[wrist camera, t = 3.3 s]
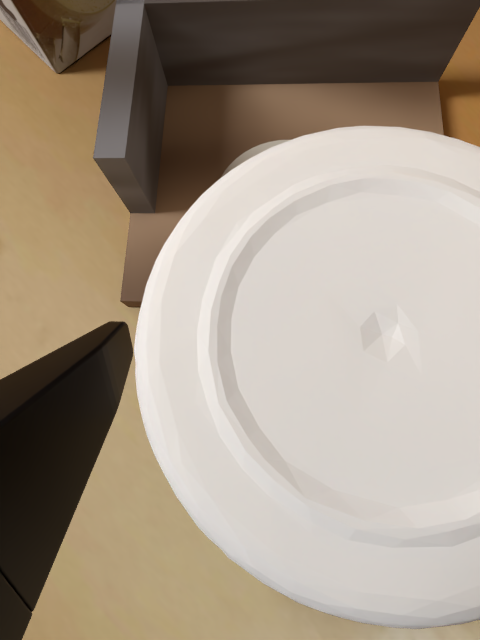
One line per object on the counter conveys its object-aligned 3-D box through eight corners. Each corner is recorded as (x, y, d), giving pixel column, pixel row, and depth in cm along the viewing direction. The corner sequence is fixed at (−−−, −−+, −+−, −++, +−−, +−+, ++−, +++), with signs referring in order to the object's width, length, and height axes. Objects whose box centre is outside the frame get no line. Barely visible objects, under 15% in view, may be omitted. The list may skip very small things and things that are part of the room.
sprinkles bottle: (318, 329, 17) (540, 53, 4) (349, 430, 16) (827, 569, 2) (222, 353, 17) (84, 167, 3) (246, 455, 16) (174, 739, 2)
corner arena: (449, 314, 16) (530, 276, 12) (128, 306, 17) (77, 268, 12) (427, 79, 19) (483, -30, 14) (152, 83, 20) (119, -18, 15)
